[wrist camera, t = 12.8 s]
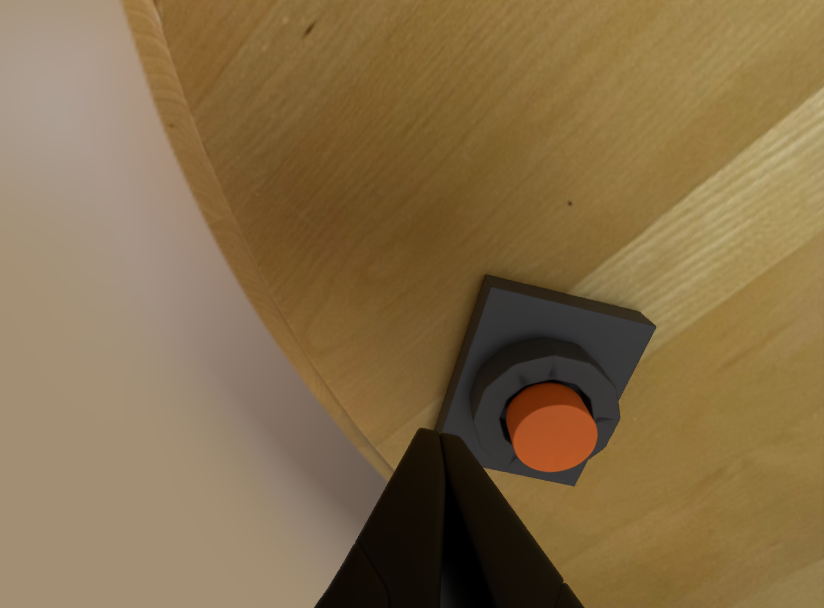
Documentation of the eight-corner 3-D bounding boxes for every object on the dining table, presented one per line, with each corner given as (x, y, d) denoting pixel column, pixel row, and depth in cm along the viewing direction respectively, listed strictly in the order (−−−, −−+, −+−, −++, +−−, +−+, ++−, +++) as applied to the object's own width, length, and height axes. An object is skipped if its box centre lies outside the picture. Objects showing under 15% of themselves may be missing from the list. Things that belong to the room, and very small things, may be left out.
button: (495, 437, 21) (501, 463, 19) (520, 374, 19) (529, 397, 18) (566, 452, 21) (578, 479, 19) (596, 391, 20) (612, 415, 18)
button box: (432, 436, 25) (433, 483, 22) (485, 274, 21) (497, 301, 18) (565, 464, 25) (586, 514, 22) (640, 311, 22) (678, 344, 18)
